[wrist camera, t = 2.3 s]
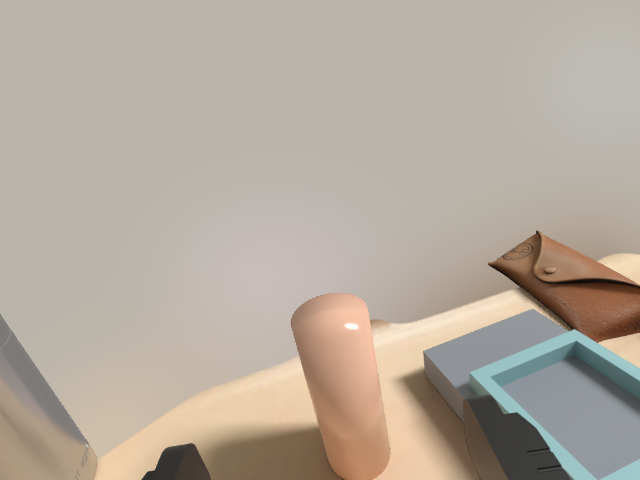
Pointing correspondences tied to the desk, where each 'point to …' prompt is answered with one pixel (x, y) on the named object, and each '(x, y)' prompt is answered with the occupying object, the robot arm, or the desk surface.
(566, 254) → the sunglasses case
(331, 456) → the glossy peach cylinder
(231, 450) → the desk surface
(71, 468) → the robot arm
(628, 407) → the platform
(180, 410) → the desk surface
